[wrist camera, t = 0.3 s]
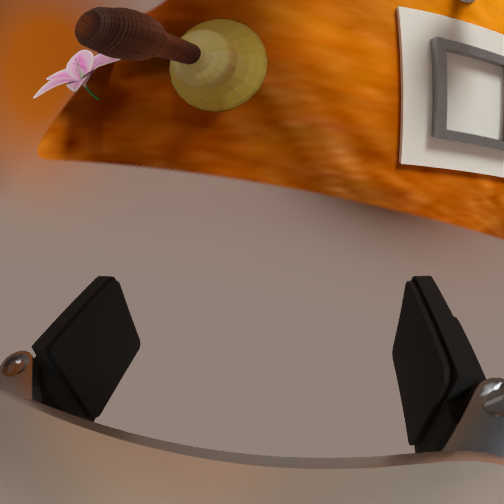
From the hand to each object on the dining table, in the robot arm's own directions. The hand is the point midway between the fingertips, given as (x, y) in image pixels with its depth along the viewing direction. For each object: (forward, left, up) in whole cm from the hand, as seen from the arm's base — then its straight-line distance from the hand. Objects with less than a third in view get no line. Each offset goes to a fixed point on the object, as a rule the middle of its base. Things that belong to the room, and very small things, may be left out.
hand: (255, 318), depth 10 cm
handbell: (-12, -9, -31) cm, 35 cm away
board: (-10, +23, -31) cm, 40 cm away
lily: (-14, -26, -31) cm, 43 cm away
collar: (-10, +23, -31) cm, 40 cm away
